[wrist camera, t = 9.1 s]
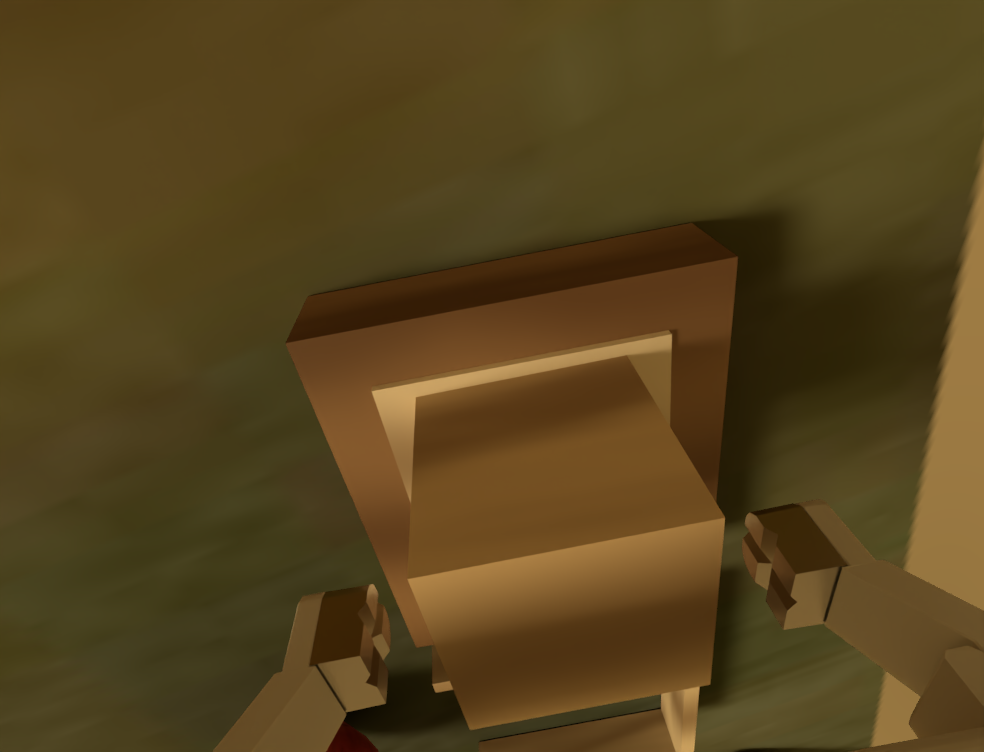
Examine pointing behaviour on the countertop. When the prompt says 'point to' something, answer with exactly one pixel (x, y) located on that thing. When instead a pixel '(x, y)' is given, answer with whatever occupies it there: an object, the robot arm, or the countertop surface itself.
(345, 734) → the onion
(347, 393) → the wooden tray
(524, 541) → the oak block
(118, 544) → the countertop surface
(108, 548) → the countertop surface
